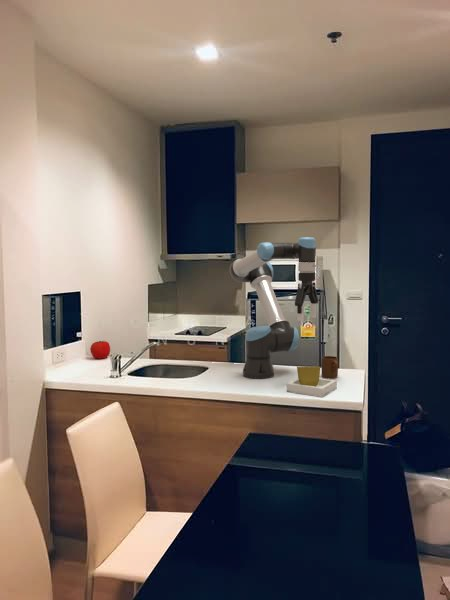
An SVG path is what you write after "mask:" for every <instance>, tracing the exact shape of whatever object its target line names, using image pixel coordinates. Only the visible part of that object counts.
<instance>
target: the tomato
mask: <svg viewBox="0 0 450 600" xmlns="http://www.w3.org/2000/svg"><path fill="white" fill-rule="evenodd" d="M89 350H90V353H91V355H92V357H93V358H94V359H99V360H102V359H106V358H107V357H109V355H110V352H111V345H110V343H109V342H108V341H105V340H102V341H101V340H99V341H95V342H92V344H91V345H90V349H89Z"/></svg>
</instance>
